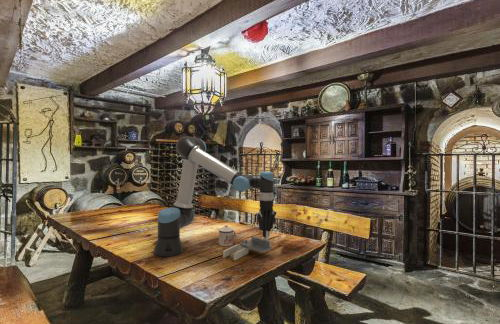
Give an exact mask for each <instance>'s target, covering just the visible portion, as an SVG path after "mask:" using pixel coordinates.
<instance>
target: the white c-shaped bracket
mask: <svg viewBox="0 0 500 324" xmlns="http://www.w3.org/2000/svg"><path fill="white" fill-rule="evenodd" d="M238 249H242V250H240V251H238V252H236V253H234V259H233V261H237V260H239V259H240V258H242V257H244V256H246V255H248V254H249V253H250V252H249V251H250V249H249V248H246V247H243V246H240V243H239V244H235V245H232V246H230V247H229V248H227V249H224V250H223V251H222V258H223V259H224V258H227V257H229V255H230V254H231V253H233V252H235V251H237V250H238Z"/></svg>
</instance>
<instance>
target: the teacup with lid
mask: <svg viewBox="0 0 500 324" xmlns="http://www.w3.org/2000/svg"><path fill="white" fill-rule="evenodd" d="M236 233H237V232H236V231H234V228H232V227H230V226H228V224H224V226H223V227H221V228H219V229H218V245H219V246H221V247H232V246H234V239H235V237H236Z"/></svg>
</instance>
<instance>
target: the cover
mask: <svg viewBox="0 0 500 324" xmlns="http://www.w3.org/2000/svg"><path fill="white" fill-rule="evenodd" d="M271 244H272V241H269V240H268V241H267V240H264V238H261V237H257V236H254V235H251V240H248V239H242V242H240V243H239V245H240V246H243V247H246V248H249V250H252V251H254V252H258V253H263V252H267V251H271V250H272V245H271Z"/></svg>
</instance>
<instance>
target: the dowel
mask: <svg viewBox="0 0 500 324" xmlns="http://www.w3.org/2000/svg"><path fill="white" fill-rule="evenodd" d="M240 250H242V249H238V250H237V251H235V252H233V253H231V254H230V255H229V256H228V257H229V259H230V260H234V253H236V252H238V251H240Z"/></svg>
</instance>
